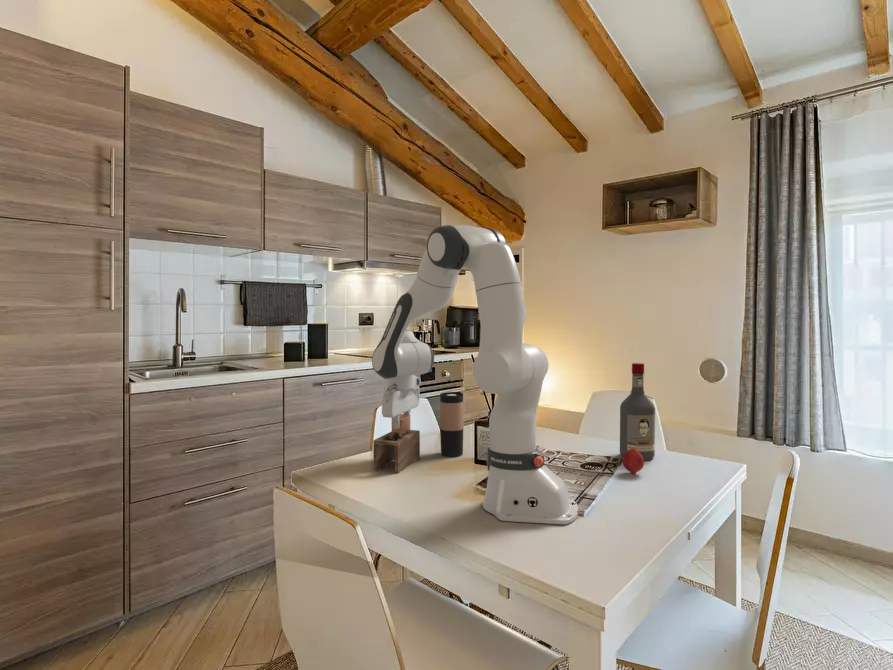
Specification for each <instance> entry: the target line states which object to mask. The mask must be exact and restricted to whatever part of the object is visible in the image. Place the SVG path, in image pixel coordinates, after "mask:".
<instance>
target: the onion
mask: <svg viewBox="0 0 893 670" xmlns="http://www.w3.org/2000/svg"><path fill="white" fill-rule="evenodd" d="M621 462H622V466H623V467H624V469H625V470H626V471H628V472H629V473H630V474H632V475H635V474H636V473H638V472H640V471H641V470H642V469H643V467H644V464H645V460H644V459H643V456H642V455H641V454H640V453H639V452H638V451H637V450H636V447H632V448H631V449H630V450H628V451H627V452H626V453H625V454H624V456H622V461H621Z"/></svg>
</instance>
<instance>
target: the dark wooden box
mask: <svg viewBox="0 0 893 670" xmlns="http://www.w3.org/2000/svg"><path fill="white" fill-rule="evenodd" d="M420 433H421V431H420V430H417V429H416V430H415V429H414V430H413V429H410V431H409V432H407V433H405V434H404V435H402V436H400V437H399V440H397V441H395V437H398V433H392V430H391V431H390V432H388V433H385V434H383V435H381V436H379V437H377V438H376V439H374V440H373V442H372V443H373V445H372V447H373V448H372V449H373V452H372V453H373V455H372V456H373V471H374V470H377V471H379V470H380V469H379V468H381V467H382V468H384V467H386V466H387V465H389V464H391V463H392V462H394V473H395V474H399V473H401V472H403V471H404V470H405V469H407V468H408V467H410V466H411V465H413V464H414V463H415V461H416V462H418V460H420V459H421V437H420V436H421V434H420ZM393 460H394V461H393ZM391 461H392V462H391ZM388 463H389V464H388ZM412 463H413V464H412ZM386 464H387V465H386ZM409 465H410V466H409ZM383 466H384V467H383ZM406 467H407V468H406ZM382 468H381V469H382ZM378 469H379V470H378ZM403 469H404V470H403ZM400 471H401V472H400Z"/></svg>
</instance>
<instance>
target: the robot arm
mask: <svg viewBox="0 0 893 670" xmlns="http://www.w3.org/2000/svg"><path fill="white" fill-rule="evenodd" d="M423 253H424V254H423V255H422V258H421V261H420V264H419V266H418V270H417V273H416V276H415V280H414V282H413V283H412V285H410V288H409V289H408V290H407V291H406V292H405V293H404V294H402V295H401V296H400V297H399V299H398V300H397V302H396V304H395V306H394V308H393V311H392V312H391V315H390V318H389V320H388V323H387V325H386V327H385V330H384V332H383V334H382V337H381V338H380V339H381V340H380V341H379V342H378V344H377V346H376V348H375V349H374V351H373V353H372V355H371V356H372V357H371V364H372V368H373V370H374V372H375V373H376V374H377V375H378V376H380V377H381V378H382V379H384V380H386V390H385V391H384V392H383V395H382V402H381V414H382V417H383V418H389V419H391V421H392V420H393V423H394V429H399V428H401V422H400V421H399V418H400V414H406V415H410V416H411V410H412V409H415V408H417V407H419V404H420V395H421V394H420V391H421V390H420V386H421V384H422V383H421V382H422V381H421V378H420V377H418V375H424V374H428V373H429V372H430V371H431V370H432V368H433V366H434V363H435V353H434V350H433V349H432V347H431V346H430V345H429V344H428V343H426V342H423V341H420V340H419V339H418V338H417V337H415V334H414V331H412V330H408V328H409V326H410V324H412V322H414V321H415V320H417V319H418V318H421V317H423V316H424V315H428V314H430V313H435V312H437V311H440V310H441V309H443V308H444V307H446V306H447V305H448V304H449V303H450V301H451V299H452V298H453V296H454V293H455V289H456V286H457V284H458V283H457V282H458V277H459V274H460V271H461V270H465V271H469V272H470V273H471V274H472V276H473V277H472V278H473V282H474V289H475V295H476V301H477V308H478V313H479V314H478V315H479V320H480V321H479V323H480V335H479V338H480V339H479V347H478V348H479V349H478V354H477V357H476V358H475V360H474V362H473V365H472V377H473V380H474V382H475V384H476V385H477V386H478V389H480V390H481V391H483V392H485V393H487V394H491V395H492V394H494V395H497V396H496V399H495V403H494V405H493V408H492V410H491V412H490V414H489V417H488V418H489V419H488V423H489V424H488V426H489V427H488V432H489V433H488V435H489V443H488V444H489V445H488V447H487V453H486V465H487V472H488V475H487V483H486V489H485V494H484V498H483V502H482V507H483V509H484V510H485V511H487V512H488V513H490V514H491V515H494V516H495V517H496V518H497V519H498V520H500V521H502V522H517V523H518V522H519V523H531V524H532V523H533V524H534V523H535V524H548V525H549V524H550V525H568V524H571V523H572V522H573V521H575V520H576V519H577V518H578V515H579V505H578V504H577V502H576V501H575V500H574V499H571V498H570V497H569V496H570V495H569V492H568V488H567V485H566V484H567V483H565V481H564V480H563V479H562V478H561V477H560V476H558V475H557V474H555V473H554V472H553V471H552V470H551V469H550V468H548V467H547V466H546V465H545V451H544V450H542V451H541V450H539V449H538V448H537V445H536V443H537V442H536V441H537V440H536V439H537V415H538V407H539V402H540V397H541V392H542V388H543V383H544V380H545V377H546V375H547V374H548V370H549V360H548V359H549V358H548V357H547V355H546V353H545V352H544V351H543V349H541V348H539V347H537V346H536V345H533V344H529V343H523V339H524V338H523V337H524V335H523V333H524V325H525V322H526V320H527V309H526V304H525V297H524V293H523V286H522V281H521V276H520V273H519V269H518V266H517V263H516V260H515V256H514V255H513V252H512V249H511V248H510V246H508V245H507V241H506V239H505V237H504V235H503V233H501V232H500V231H498V230H496V229H493V228H490V227H479V226H472V225H470V224H469V225H461V224H459V225H450V224H449V225H448V224H446V225H441V226H438V227H435V228H434V229H432V231H431V232H430V233H429V236H428V238H427V242H426V248H425V252H423ZM416 375H417V376H416ZM570 503H576V504H575V505H572V504H570ZM577 511H578V513H577Z"/></svg>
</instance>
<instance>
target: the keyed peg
mask: <svg viewBox="0 0 893 670" xmlns="http://www.w3.org/2000/svg"><path fill="white" fill-rule="evenodd" d="M399 421H400V422H401V428H399V429H394V423H393V420H392V419H391V431H392V433H398V437H395V441H397V440H399V437H400V436H402V435H404V434H405V433H407V432H409V431H410V430H411V414H410V415H406V414H403V413H402V414H400V418H399Z"/></svg>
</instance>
